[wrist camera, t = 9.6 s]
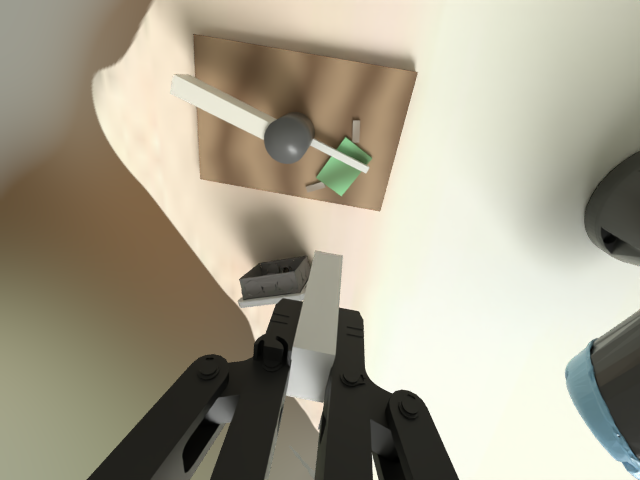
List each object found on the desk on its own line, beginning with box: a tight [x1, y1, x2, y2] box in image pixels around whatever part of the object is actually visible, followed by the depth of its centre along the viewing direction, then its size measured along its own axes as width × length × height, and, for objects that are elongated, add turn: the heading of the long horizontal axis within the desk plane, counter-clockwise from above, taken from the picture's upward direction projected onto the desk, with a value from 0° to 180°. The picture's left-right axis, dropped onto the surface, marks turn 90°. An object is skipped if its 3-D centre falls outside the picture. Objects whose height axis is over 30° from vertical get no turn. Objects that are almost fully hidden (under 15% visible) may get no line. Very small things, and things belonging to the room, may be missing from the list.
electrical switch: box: [238, 256, 311, 308], centre depth 42 cm, size 9×5×9 cm, turn 104°
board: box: [193, 34, 418, 211], centre depth 36 cm, size 24×16×2 cm, turn 82°
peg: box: [170, 74, 369, 173], centre depth 32 cm, size 22×4×6 cm, turn 66°
